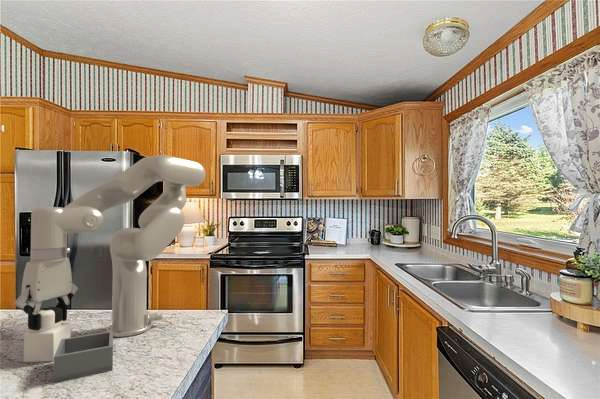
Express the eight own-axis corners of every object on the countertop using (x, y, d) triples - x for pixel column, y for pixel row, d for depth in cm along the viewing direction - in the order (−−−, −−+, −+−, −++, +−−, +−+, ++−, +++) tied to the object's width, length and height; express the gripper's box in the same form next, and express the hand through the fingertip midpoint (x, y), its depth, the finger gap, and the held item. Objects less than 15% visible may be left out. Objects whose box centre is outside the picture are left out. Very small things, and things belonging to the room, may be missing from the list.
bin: (112, 351, 87) (113, 330, 87) (112, 370, 78) (112, 346, 78) (60, 361, 82) (61, 339, 82) (53, 382, 72) (53, 357, 72)
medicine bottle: (42, 350, 88) (43, 305, 88) (70, 349, 89) (71, 304, 89) (22, 363, 81) (23, 313, 81) (53, 361, 82) (54, 313, 82)
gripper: (69, 249, 95) (68, 313, 94) (0, 259, 78) (-1, 335, 78) (90, 250, 93) (89, 315, 92) (23, 260, 76) (22, 339, 76)
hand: (48, 324), depth 85 cm, fingers closed on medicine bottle, 6 cm apart
